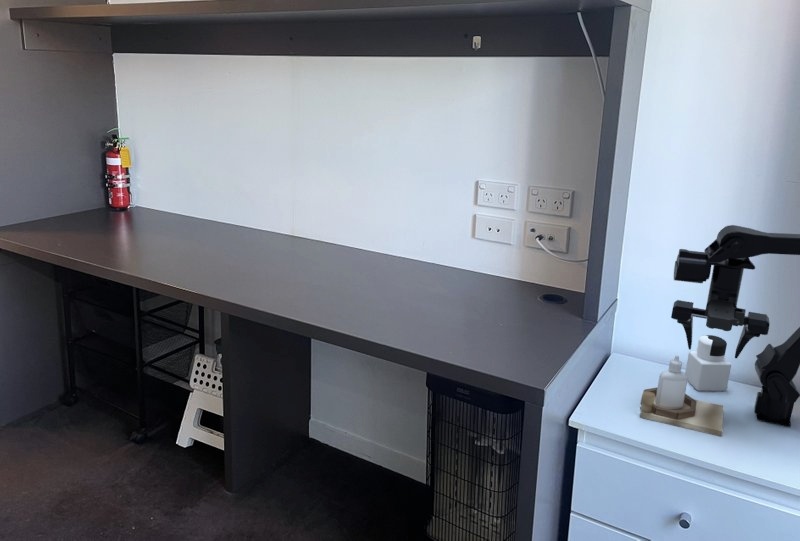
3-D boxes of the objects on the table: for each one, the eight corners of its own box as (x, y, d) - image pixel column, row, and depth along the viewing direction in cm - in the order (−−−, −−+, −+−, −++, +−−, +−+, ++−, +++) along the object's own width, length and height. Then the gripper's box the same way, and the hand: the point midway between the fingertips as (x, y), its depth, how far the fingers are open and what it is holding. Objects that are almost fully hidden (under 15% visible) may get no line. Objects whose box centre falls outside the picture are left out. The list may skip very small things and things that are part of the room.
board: (722, 410, 147) (726, 389, 146) (721, 436, 137) (725, 414, 135) (644, 393, 154) (647, 373, 152) (637, 416, 144) (640, 395, 142)
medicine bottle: (712, 377, 163) (720, 332, 159) (726, 391, 156) (736, 344, 152) (683, 377, 162) (691, 332, 159) (697, 391, 156) (705, 344, 152)
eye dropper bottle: (680, 413, 143) (689, 363, 139) (653, 406, 146) (661, 356, 142) (684, 405, 147) (692, 355, 143) (657, 398, 149) (665, 349, 146)
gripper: (674, 289, 137) (663, 358, 142) (777, 305, 129) (761, 377, 134) (678, 274, 147) (668, 339, 151) (774, 289, 139) (759, 357, 144)
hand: (712, 353), depth 145 cm, fingers open, 9 cm apart
